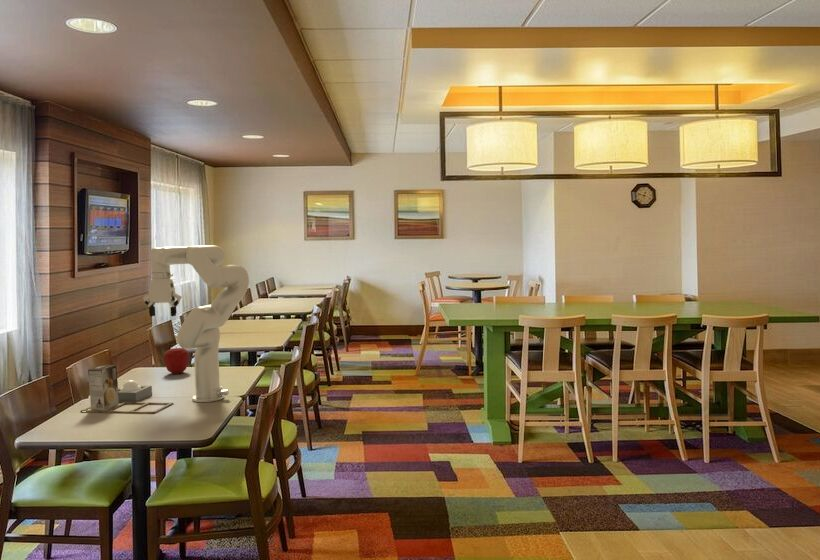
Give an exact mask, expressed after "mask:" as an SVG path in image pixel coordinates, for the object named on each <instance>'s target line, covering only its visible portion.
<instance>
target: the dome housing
mask: <svg viewBox="0 0 820 560" xmlns="http://www.w3.org/2000/svg"><path fill="white" fill-rule="evenodd" d="M140 386H141V389H139V390H137V391H134V392H129V391H120V388H121V387H118V396H119V402H137V401H138V402H140V401H142V400H144V399H146V397H147V398H149V397H151V396H152V395H153V386H152V385H140ZM139 400H140V401H139Z"/></svg>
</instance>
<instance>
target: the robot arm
mask: <svg viewBox="0 0 820 560" xmlns="http://www.w3.org/2000/svg"><path fill="white" fill-rule="evenodd" d="M149 253H150V255H149V256H150V268H151V269H150V271H151V274H150V275H151V279H150V281H149V286H148V287H149V288H148V289H149V290H148V294H145V295H144V296H142V300H143V301H144V304H146V306H147V307H148V313H149V317H155V316H156V307H155V305H156V304H158V303H159V304H163V303H164V304H167V303H168V304H169V305H170V316H171V317H175V316H177V306H179V304H180V302H181V300H182V295H180V294H178V293H176V287H175V283H174V281H173V278H171V277H173V276H174V273H171V265H172V266H173V265H185V264H186V265H190V266H192V268H193V269H194V270H195V272H196V274H198V276H199V277H200V278H201V280H202V281H203V282H204V283H205V285H207V286H208V287H210V288H213V289H219V288H223V289H222V290H221V291H220V292H219V293H218V294H217V295H216V297H215V299H214V300H213V301H212V303H211V304H210V303H209V304H208V305H207V304H206V305H202V306H201V305H200V306H197V307H195V308H193V309H191V310H190V312H189V313H188V315H187V316H186V318H185V319H184V321H183V322H182V324H181V326H180V327H179V329H178V331H177V335H176V341H177V344H178V346H179V348H184V349H186V350H192V349H193V350H194V349H196V350H195V352H194V357H193V358H194V361H193V363H194V380H195V381H194V383H195V384H194V385H195V395H193V396H192V397H191V400H192V401H193V402H195V403H210V402H218V401H220V400H223V399H224V398H225V396H229V394H230V392H229V389H223V386H221V385H220V384H221V383H220V366H219V365H220V363H219V361H220V360H219V359H220V357H219V345H220V339H221V331H220V328H221V327H223V326H224V325H225V324H226V323H227V321H228V320H229V318H230V317H231V316H232V314H233V313H234V311H235V309H236V307H238V304H239V303H240V302H241V300H242V299H244V296H245V294H246V293H247V292H248V289H249V283H250V279H249V274H248V271H247V269H246V268H245V267H243V266H241V265H238V264H223V263H224V262H225V261H226V259H227V253H226V251H225V250H224V248H223V247H221V246H218V245H211V244H209V245H208V244H207V245H206V244H205V245H204V244H203V245H196V244H195V245H194V244H193V245H190V246H186V245H185V246H163V247H152V248H151V249H150V251H149ZM222 264H223V265H222Z"/></svg>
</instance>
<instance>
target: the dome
mask: <svg viewBox="0 0 820 560" xmlns="http://www.w3.org/2000/svg"><path fill="white" fill-rule="evenodd" d="M141 386H142V385H139V384H138V382H137V381H136V380H133V379H129V380H126V381H125V382H124V383H123V385H122V386H121V387H119V388H120V391H129V392H134V391H137V390H139V389H141Z"/></svg>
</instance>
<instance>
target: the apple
mask: <svg viewBox="0 0 820 560" xmlns="http://www.w3.org/2000/svg"><path fill="white" fill-rule="evenodd" d="M189 358H190V354H189V351H188V349H184V348H182V347H175V348H170V349H167V350H166V351H165V352H164V354H163V362H164V365H165V367H166V370H167V371H168V372H169V373H171V374H172V375H180V374H179V373H181V374H183V373H184V372H185V371H186V369H187V367H188V364H189Z"/></svg>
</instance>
